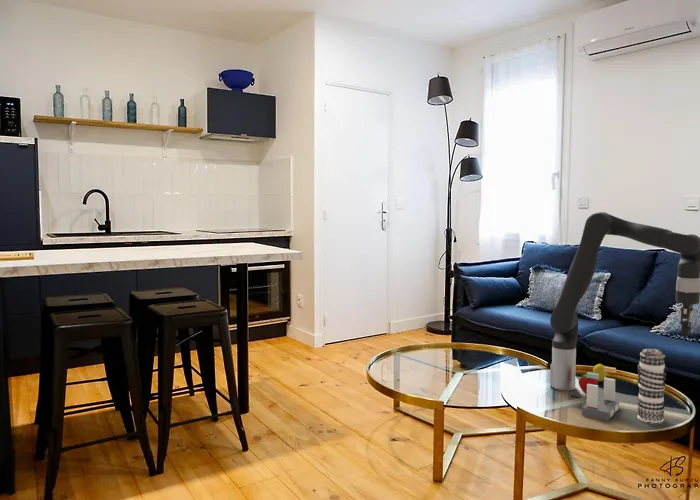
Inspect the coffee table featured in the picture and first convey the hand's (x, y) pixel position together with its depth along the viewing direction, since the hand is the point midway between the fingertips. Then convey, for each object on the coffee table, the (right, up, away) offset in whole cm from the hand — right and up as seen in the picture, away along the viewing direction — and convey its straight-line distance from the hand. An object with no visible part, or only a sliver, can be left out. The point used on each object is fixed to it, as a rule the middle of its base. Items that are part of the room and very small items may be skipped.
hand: (685, 333), depth 207 cm
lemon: (-16, -26, +36) cm, 47 cm away
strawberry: (-27, -28, +20) cm, 44 cm away
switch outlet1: (-35, -27, -1) cm, 44 cm away
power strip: (-29, -29, +4) cm, 41 cm away
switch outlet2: (-25, -26, +6) cm, 37 cm away
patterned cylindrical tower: (-16, -30, -5) cm, 34 cm away
